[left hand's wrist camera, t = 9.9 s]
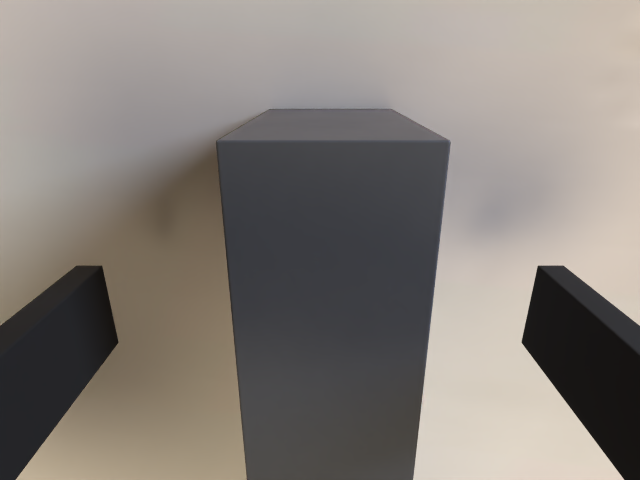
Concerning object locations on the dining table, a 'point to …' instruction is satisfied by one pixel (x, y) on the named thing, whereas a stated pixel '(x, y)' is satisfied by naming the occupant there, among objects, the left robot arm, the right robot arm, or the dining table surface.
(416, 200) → the bar
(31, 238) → the dining table surface
